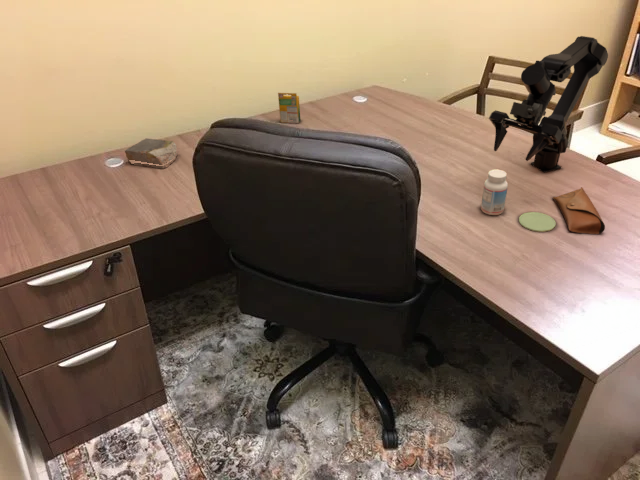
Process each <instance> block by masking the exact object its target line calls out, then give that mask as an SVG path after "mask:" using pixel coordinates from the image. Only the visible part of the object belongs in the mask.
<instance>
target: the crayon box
mask: <svg viewBox="0 0 640 480" xmlns="http://www.w3.org/2000/svg"><path fill="white" fill-rule="evenodd" d="M277 97H278V98H277V99H278V108H279V109H278V110H279V121H280V123H281V124H282V123H289V124H299V123H300V122H301V107H300V106H301V105H300V96H299V95H298V94H297V93H296V92H278V93H277ZM289 120H293V121H289Z"/></svg>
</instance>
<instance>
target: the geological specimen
mask: <svg viewBox="0 0 640 480" xmlns="http://www.w3.org/2000/svg"><path fill="white" fill-rule="evenodd" d="M176 152H177V144H176V142H175V141H174V140H166V139H156V138H143V139H141V140H140V141H139V142H137V143H134V144H132V145H131V146H130V147H128V148H126V149H124V153H125V157H126V158H127V160H128V159H129V160H135V161H141V162H147V163H153V164H159V165H163V164H165V163H167V162H168V161H170V160H172V159H173V158H174V157H175V159H173V160H172V161H171V162H169V163H168V164H166V165H164V166H156V165H149V164H141V163H134V165H133V166H139V167H145V168H146V167H148V168H149V167H151V168H157V169H161V170H164V169H166V168H168V167H169V166H170V165H171V164H174V163H173V162H175V161H176V159H177V158H178V156H179V153H178V152H177V153H176ZM175 155H176V156H175Z"/></svg>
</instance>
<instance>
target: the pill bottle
mask: <svg viewBox="0 0 640 480" xmlns="http://www.w3.org/2000/svg"><path fill="white" fill-rule="evenodd" d="M507 176H508V174H507V172H506V171H505V170H502V169H497V168H496V169H490V170H489V171H488V173H487V178H486V179H485V181H484V183H483V189H482V197H481V203H480V204H481V205H480V209H481V211H482V212H483V213H485V214H486V215H489V216H498V215H501V214H503V213H504V210H505V207H506V206H505V205H506V199H507V194H508V189H509V188H508V187H509V184H508V182H507V178H508V177H507Z"/></svg>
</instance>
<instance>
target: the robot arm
mask: <svg viewBox="0 0 640 480" xmlns="http://www.w3.org/2000/svg"><path fill="white" fill-rule="evenodd" d="M608 58H609V53H608V50H607V47H605V46H604V45H602V44H601V43H599V41H598V39H597V38H595V37H591V36H586V35H580V36H577V37H576V38H575V40H574V42H572V43H570V44H569V45H568V46H567V47H565V48H564V49H562V50H561V51H560V52H559V53H553V54H552V53H551V54H548V55H546V56H544V57H543V58H542V59H541V60H535V62H534V63H533V64H530V65H529V66H527V67H526V68H524V69H523V70H522V72H521V76H520V79H521V82H522V83H523V85H524V87H525V89H526V91H527V93H528V94H527V96H526V99H525V98H524V99H523V100H522V101H521V103H520V102H516V101H513V103H512V105H511V109H510V112H509V115H512V116H513V118H510V116H509V115H508V113H507V112H504V111H499V110H496V109H495V110H494V111H492V112H491V113H490V115H489V117H488V120H489V122H491V124H492V126H493V127H494V128H495V129H494V130H495V136H494V145H493V151H494V152H497V151H498V150H499V148H500V146H501V145H502V143H503V141H504V139H505V137H506V135H507V133H508V130H507V129H509V128H510V127H512V128H516V129H520V130H524V131H527V132H531V133H533V134H532V145H531V147H530V149H529V151H528V153H527V154H526V157H525V161H526V162H529V160H531V159H532V158H533V157H534V159H533V161H531V162H530V165H531V166H532V167H534V168H536V169H538V170H539V171H541V172H542V173H548V172H552V171H556V170H560V169H561V168H562V166H561V165H559V161H560V157H561V154H565V153H566V152H567V148H568V146H569V140H568V137H567V134H568V129H567V122H568V120H569V118H570V116H571V114H572V112H573V110H574V109H575V107H576V105H577V102H578V101H579V99H580V97H581V95H582V93H583V91H584V89H585V87H586V85H587V83H588V81H589V80H590V79H591V78H593V77H594V76H597V75H598V74H599V73H600V71H601V69H602V68H603V67H604V66H605V65H606V64H607V61H608ZM572 67H573V72H572ZM571 72H572V74H571ZM570 75H571V76H570ZM569 76H570V78H569ZM567 78H569V80H568V82H567V84H566V86H565V88H564V90H563V91H562V93H561V96H560V97H559V99H558V101H557V103H556V105H555V107H554V109H553V111H552V112H551V114H550V115H549V116H546V114H547V111H546V110H547V109H548V106H549V105H550V102H551V101H552V98H553V96H555V95H556V93H557V90H556V86H555V84H554V83H553V82H557V83H563V82H564V81H565V80H566V79H567Z"/></svg>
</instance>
